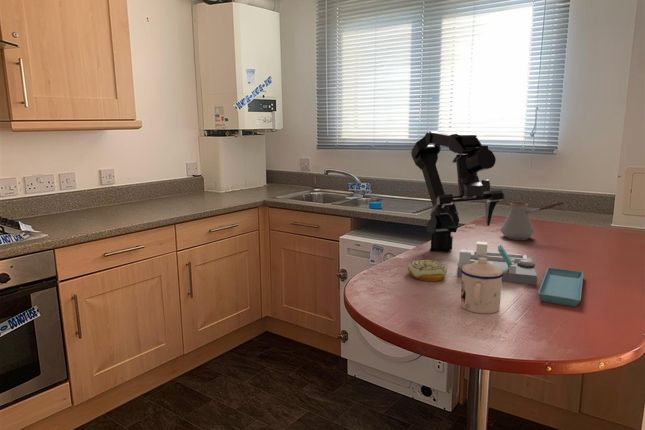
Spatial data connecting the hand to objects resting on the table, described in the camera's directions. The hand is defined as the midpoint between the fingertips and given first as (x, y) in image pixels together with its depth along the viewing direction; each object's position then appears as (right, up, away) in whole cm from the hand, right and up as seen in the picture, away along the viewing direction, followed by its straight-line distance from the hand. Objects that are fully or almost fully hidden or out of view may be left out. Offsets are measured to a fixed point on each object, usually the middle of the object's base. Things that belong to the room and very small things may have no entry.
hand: (472, 227), depth 141 cm
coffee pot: (+32, -6, +33) cm, 47 cm away
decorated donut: (-15, -14, -9) cm, 23 cm away
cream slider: (+3, -9, +1) cm, 9 cm away
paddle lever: (+7, -10, -12) cm, 17 cm away
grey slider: (-5, -11, -8) cm, 14 cm away
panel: (+5, -13, -5) cm, 14 cm away
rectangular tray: (+17, -16, -19) cm, 30 cm away
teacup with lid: (-9, -18, -33) cm, 39 cm away
